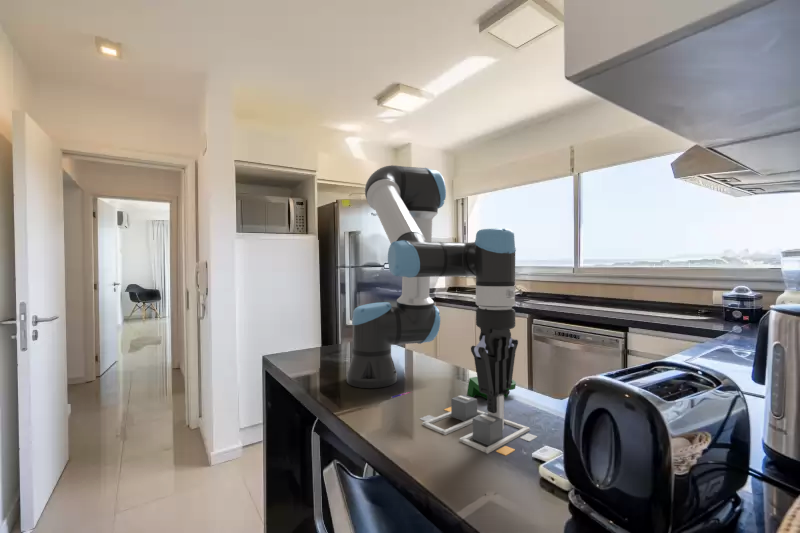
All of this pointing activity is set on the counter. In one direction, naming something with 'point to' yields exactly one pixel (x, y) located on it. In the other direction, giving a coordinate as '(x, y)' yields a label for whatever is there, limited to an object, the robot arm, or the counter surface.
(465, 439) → the switch board
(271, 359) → the counter surface
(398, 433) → the counter surface
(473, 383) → the green notched bracket
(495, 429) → the grey cube
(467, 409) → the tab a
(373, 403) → the counter surface
